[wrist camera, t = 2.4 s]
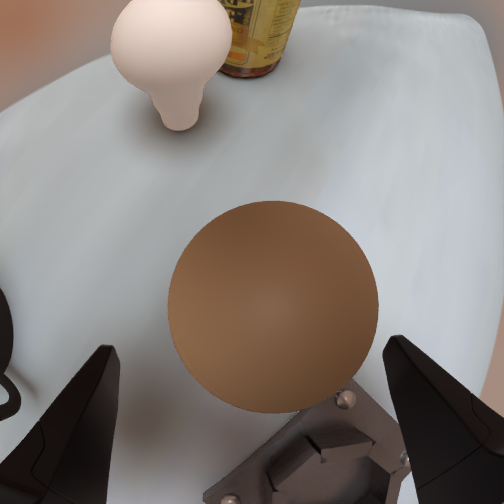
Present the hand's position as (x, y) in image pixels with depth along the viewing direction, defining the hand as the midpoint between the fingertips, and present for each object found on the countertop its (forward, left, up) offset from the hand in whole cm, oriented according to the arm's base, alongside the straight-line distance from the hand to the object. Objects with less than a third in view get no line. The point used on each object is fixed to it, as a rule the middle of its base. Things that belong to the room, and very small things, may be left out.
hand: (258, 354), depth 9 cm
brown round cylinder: (+1, +1, -9) cm, 9 cm away
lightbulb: (+7, +13, -9) cm, 17 cm away
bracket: (-3, -11, -9) cm, 15 cm away
